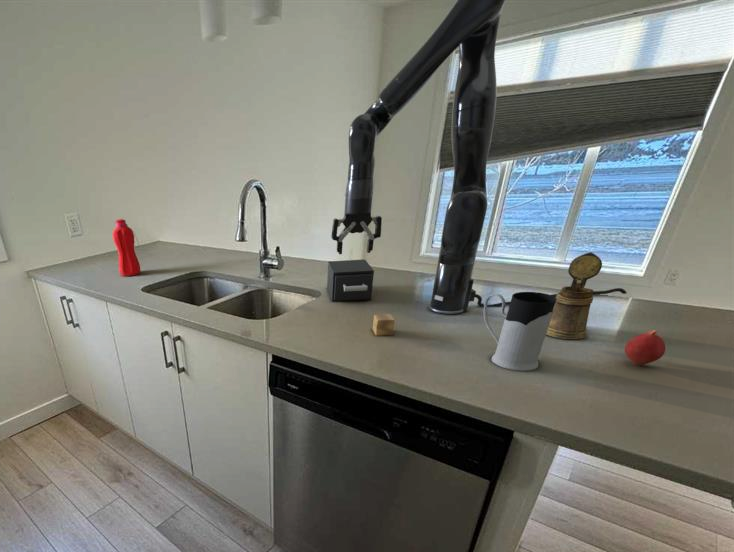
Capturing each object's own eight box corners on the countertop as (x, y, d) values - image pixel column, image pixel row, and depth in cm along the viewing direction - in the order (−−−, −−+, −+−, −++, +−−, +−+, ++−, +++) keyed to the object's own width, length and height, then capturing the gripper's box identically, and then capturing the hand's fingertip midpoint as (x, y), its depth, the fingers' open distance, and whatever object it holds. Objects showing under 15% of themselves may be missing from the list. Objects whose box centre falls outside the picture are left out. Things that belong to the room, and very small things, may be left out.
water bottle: (142, 275, 191) (131, 219, 179) (119, 277, 191) (107, 221, 179) (145, 270, 199) (136, 216, 187) (123, 272, 200) (112, 219, 187)
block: (388, 329, 112) (390, 314, 110) (392, 335, 108) (394, 319, 106) (372, 329, 113) (374, 314, 111) (375, 335, 109) (377, 320, 107)
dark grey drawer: (373, 303, 128) (376, 278, 125) (336, 304, 130) (337, 280, 126) (362, 286, 145) (364, 264, 141) (329, 287, 147) (330, 265, 143)
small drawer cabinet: (371, 299, 134) (374, 270, 130) (332, 301, 136) (333, 272, 131) (362, 286, 148) (364, 259, 143) (327, 287, 150) (328, 261, 145)
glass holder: (520, 374, 86) (542, 307, 78) (461, 351, 97) (475, 290, 90) (547, 364, 88) (570, 298, 81) (487, 342, 100) (502, 283, 92)
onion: (611, 360, 87) (626, 326, 83) (636, 357, 88) (652, 323, 84) (637, 372, 82) (654, 337, 78) (664, 369, 83) (682, 333, 79)
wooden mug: (587, 324, 104) (615, 253, 95) (584, 342, 96) (613, 266, 87) (545, 318, 110) (567, 250, 101) (538, 335, 101) (562, 262, 92)
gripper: (335, 199, 114) (332, 257, 122) (387, 195, 113) (380, 254, 121) (332, 196, 121) (329, 251, 129) (381, 193, 119) (375, 249, 127)
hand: (354, 253), depth 125 cm, fingers open, 8 cm apart
